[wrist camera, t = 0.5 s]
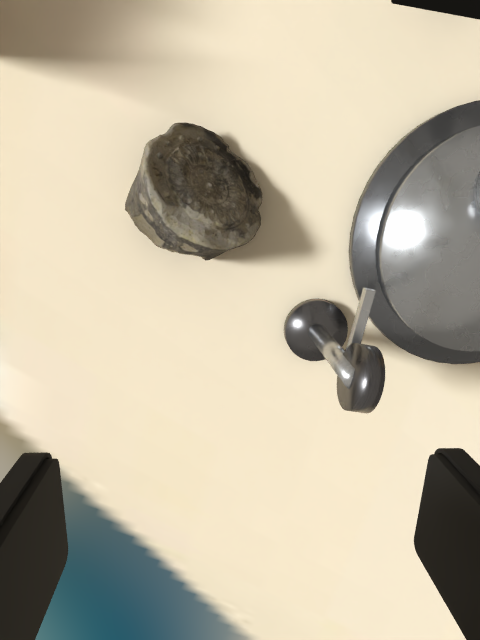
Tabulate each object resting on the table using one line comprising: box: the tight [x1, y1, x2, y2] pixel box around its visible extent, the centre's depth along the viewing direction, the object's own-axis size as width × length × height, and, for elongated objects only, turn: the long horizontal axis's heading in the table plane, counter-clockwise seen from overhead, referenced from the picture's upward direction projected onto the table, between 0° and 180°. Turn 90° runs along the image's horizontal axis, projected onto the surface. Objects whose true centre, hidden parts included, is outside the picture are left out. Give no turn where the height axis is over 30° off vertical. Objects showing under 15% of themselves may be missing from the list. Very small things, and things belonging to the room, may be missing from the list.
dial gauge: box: [284, 288, 385, 413], centre depth 33 cm, size 9×6×14 cm, turn 169°
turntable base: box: [349, 100, 480, 364], centre depth 38 cm, size 24×24×1 cm
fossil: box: [125, 123, 262, 260], centre depth 33 cm, size 11×9×10 cm
